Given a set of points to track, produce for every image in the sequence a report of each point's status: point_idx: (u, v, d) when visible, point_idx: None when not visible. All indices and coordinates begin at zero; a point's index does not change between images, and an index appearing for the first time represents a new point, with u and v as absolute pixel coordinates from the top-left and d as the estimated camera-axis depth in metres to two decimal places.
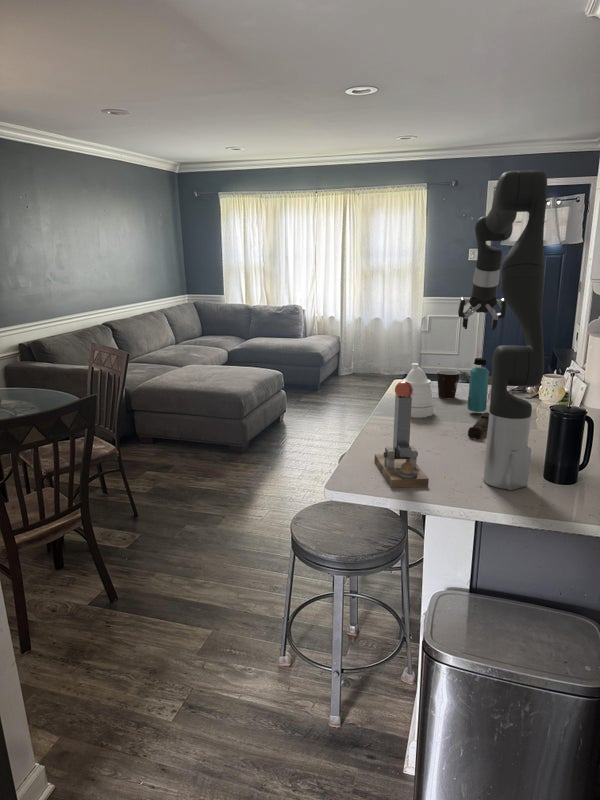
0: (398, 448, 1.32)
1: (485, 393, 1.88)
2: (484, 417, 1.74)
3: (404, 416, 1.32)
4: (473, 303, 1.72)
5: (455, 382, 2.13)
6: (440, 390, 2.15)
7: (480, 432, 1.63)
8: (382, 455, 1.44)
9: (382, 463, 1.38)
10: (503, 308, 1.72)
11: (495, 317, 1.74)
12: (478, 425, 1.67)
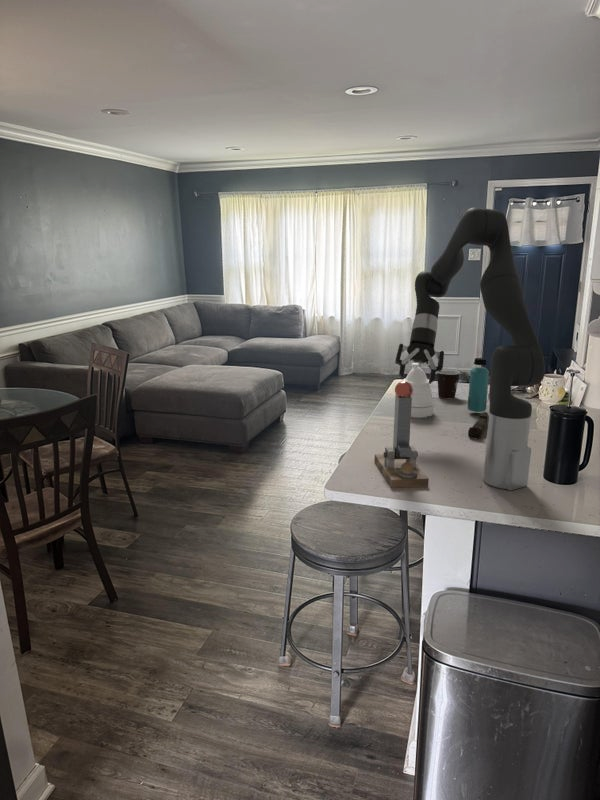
0: (398, 448, 1.32)
1: (485, 393, 1.88)
2: (483, 417, 1.74)
3: (404, 416, 1.32)
4: (411, 349, 1.66)
5: (455, 382, 2.13)
6: (440, 390, 2.15)
7: (480, 432, 1.63)
8: (382, 455, 1.44)
9: (382, 463, 1.38)
10: (441, 358, 1.64)
11: (433, 367, 1.64)
12: (478, 425, 1.67)
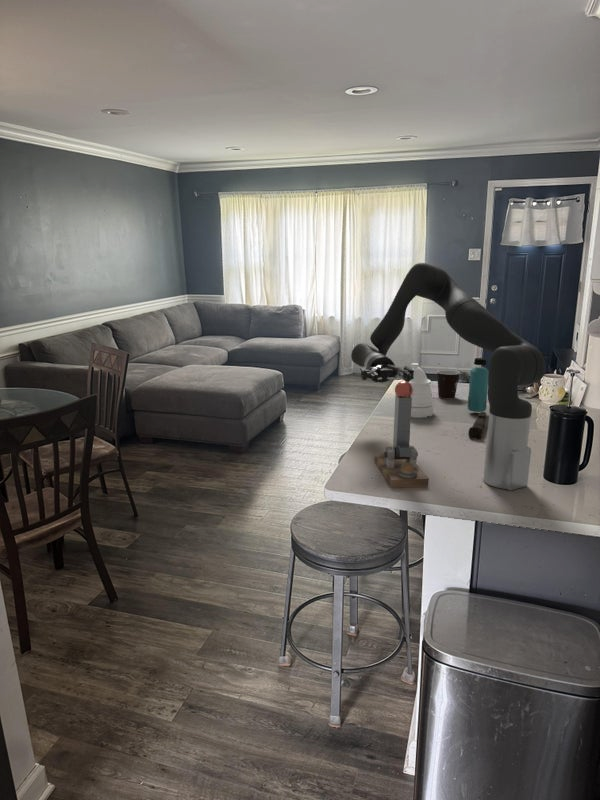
0: (398, 448, 1.32)
1: (485, 393, 1.88)
2: (482, 417, 1.75)
3: (404, 416, 1.32)
4: (374, 367, 1.51)
5: (455, 382, 2.13)
6: (440, 390, 2.15)
7: (481, 432, 1.63)
8: (382, 455, 1.44)
9: (382, 463, 1.38)
10: (408, 368, 1.50)
11: (404, 370, 1.47)
12: (478, 425, 1.67)
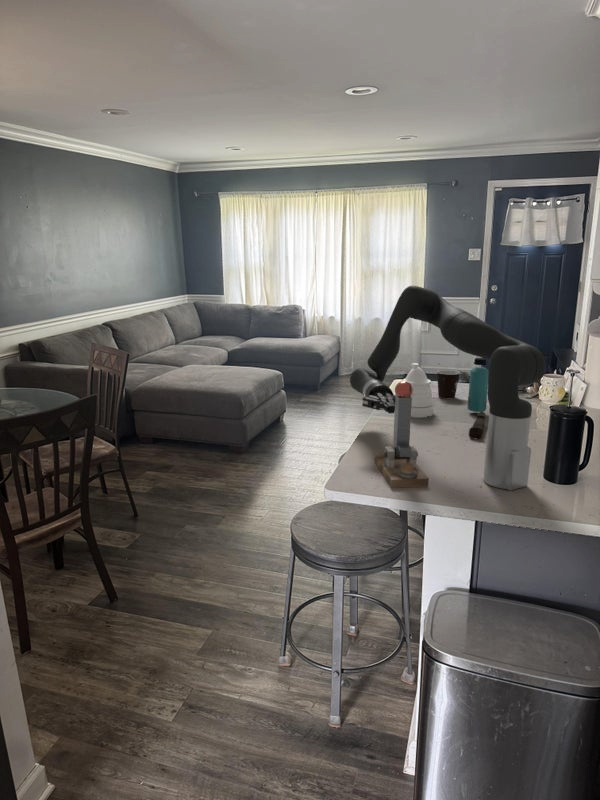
0: (398, 448, 1.32)
1: (485, 393, 1.88)
2: (481, 417, 1.75)
3: (404, 416, 1.32)
4: (373, 396, 1.53)
5: (455, 382, 2.13)
6: (440, 390, 2.15)
7: (481, 432, 1.63)
8: (382, 455, 1.44)
9: (382, 463, 1.38)
10: None
11: (389, 400, 1.48)
12: (478, 425, 1.67)
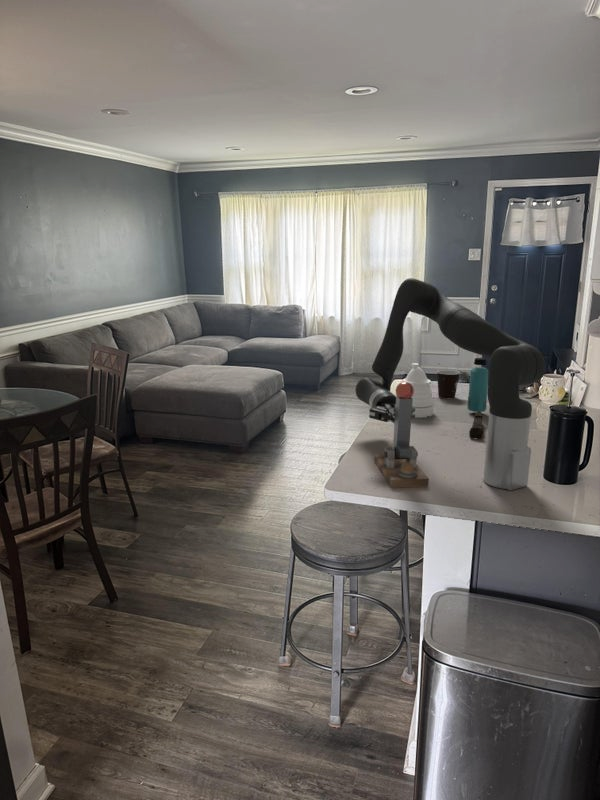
0: (398, 449, 1.32)
1: (485, 393, 1.88)
2: (479, 416, 1.75)
3: (405, 417, 1.31)
4: (380, 407, 1.45)
5: (455, 382, 2.13)
6: (440, 390, 2.15)
7: (482, 432, 1.63)
8: (382, 455, 1.44)
9: (382, 463, 1.38)
10: None
11: None
12: (478, 425, 1.67)
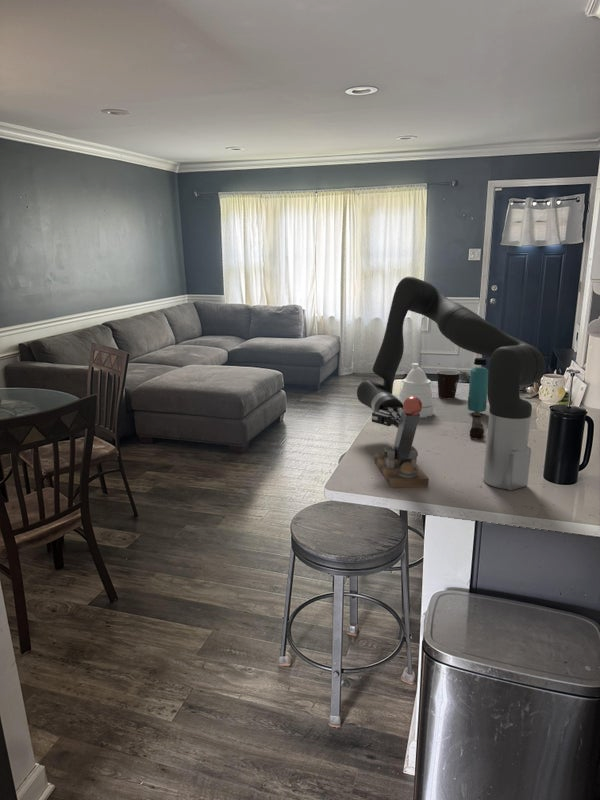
0: (399, 455, 1.32)
1: (485, 393, 1.88)
2: (477, 416, 1.75)
3: (409, 430, 1.28)
4: (383, 410, 1.42)
5: (455, 382, 2.13)
6: (440, 390, 2.15)
7: (482, 432, 1.63)
8: (382, 455, 1.44)
9: (382, 463, 1.38)
10: None
11: None
12: (478, 425, 1.67)
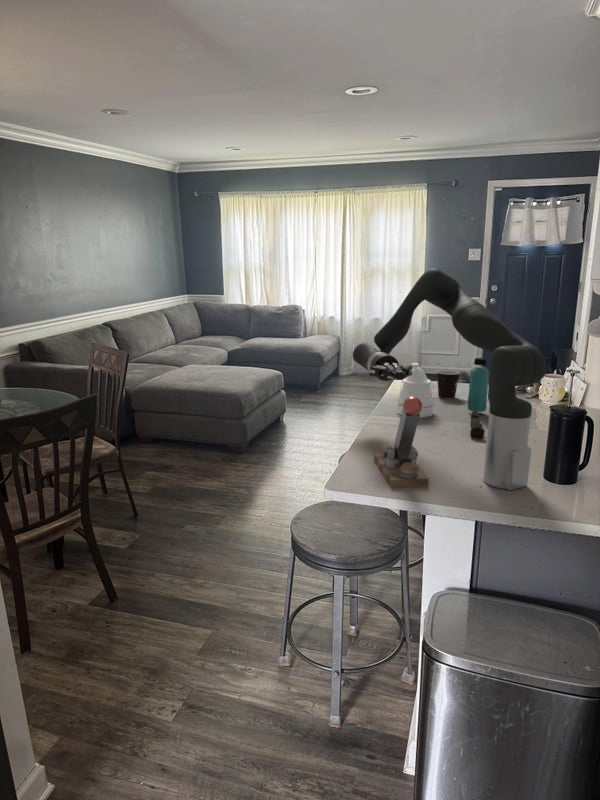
0: (399, 455, 1.32)
1: (485, 393, 1.88)
2: (476, 416, 1.75)
3: (409, 430, 1.28)
4: (379, 365, 1.52)
5: (455, 382, 2.13)
6: (440, 390, 2.15)
7: (483, 432, 1.64)
8: (382, 455, 1.44)
9: (382, 463, 1.38)
10: (408, 367, 1.50)
11: (397, 368, 1.47)
12: (478, 425, 1.67)
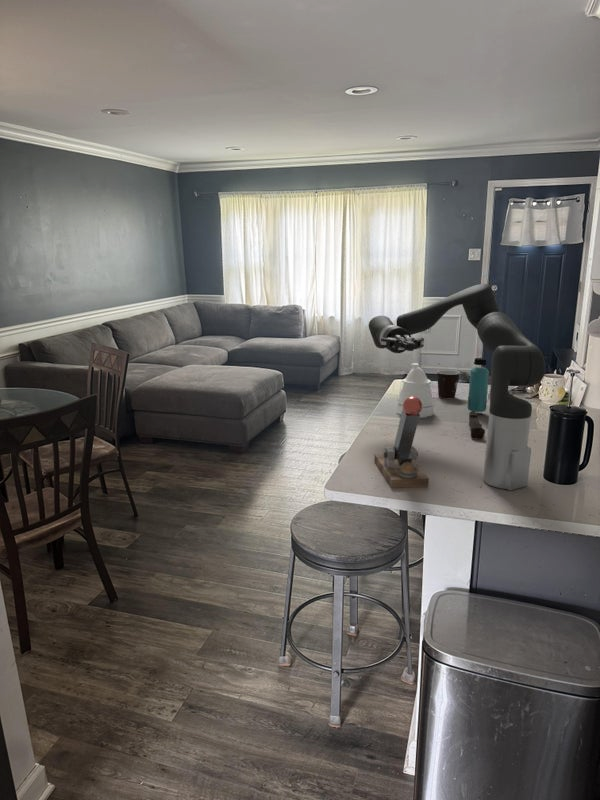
0: (399, 455, 1.32)
1: (485, 393, 1.88)
2: (474, 416, 1.75)
3: (409, 430, 1.28)
4: (391, 337, 1.53)
5: (455, 382, 2.13)
6: (440, 390, 2.15)
7: (483, 432, 1.64)
8: (382, 455, 1.44)
9: (382, 463, 1.38)
10: (419, 338, 1.51)
11: (408, 340, 1.48)
12: (478, 425, 1.67)
